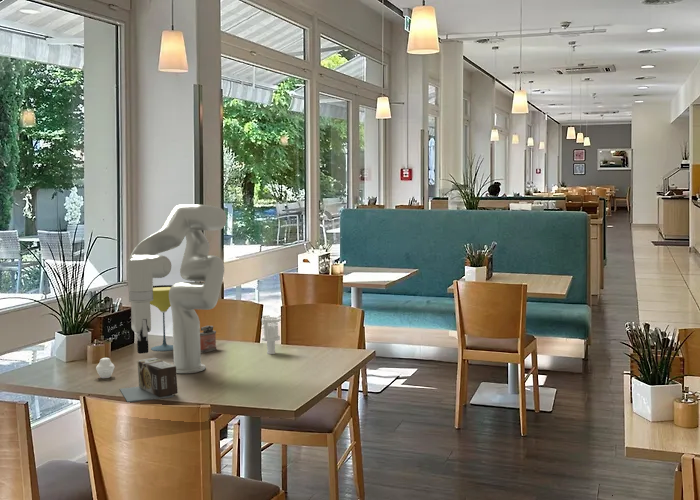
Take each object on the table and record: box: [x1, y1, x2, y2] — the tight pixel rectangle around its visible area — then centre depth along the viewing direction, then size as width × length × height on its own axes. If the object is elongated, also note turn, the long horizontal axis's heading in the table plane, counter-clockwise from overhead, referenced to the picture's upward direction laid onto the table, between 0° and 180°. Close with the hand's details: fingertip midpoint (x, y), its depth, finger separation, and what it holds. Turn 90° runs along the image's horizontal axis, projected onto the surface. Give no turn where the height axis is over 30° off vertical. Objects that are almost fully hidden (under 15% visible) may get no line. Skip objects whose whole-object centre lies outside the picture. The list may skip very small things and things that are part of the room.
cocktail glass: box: [150, 284, 174, 352], centre depth 312 cm, size 18×18×25 cm
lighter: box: [200, 325, 217, 353], centre depth 308 cm, size 8×3×10 cm, turn 144°
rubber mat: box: [119, 386, 174, 403], centre depth 243 cm, size 16×14×1 cm
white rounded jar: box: [95, 357, 116, 379], centre depth 265 cm, size 6×6×7 cm
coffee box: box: [137, 357, 178, 397], centre depth 244 cm, size 9×6×16 cm
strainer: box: [261, 314, 281, 355], centre depth 301 cm, size 7×7×15 cm
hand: (143, 352), depth 246 cm, fingers closed
